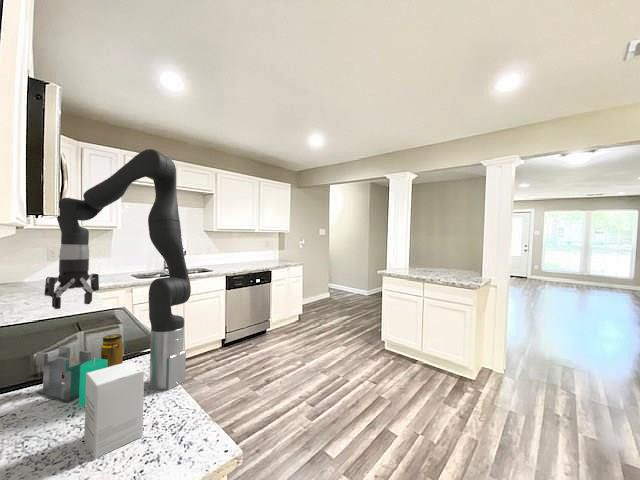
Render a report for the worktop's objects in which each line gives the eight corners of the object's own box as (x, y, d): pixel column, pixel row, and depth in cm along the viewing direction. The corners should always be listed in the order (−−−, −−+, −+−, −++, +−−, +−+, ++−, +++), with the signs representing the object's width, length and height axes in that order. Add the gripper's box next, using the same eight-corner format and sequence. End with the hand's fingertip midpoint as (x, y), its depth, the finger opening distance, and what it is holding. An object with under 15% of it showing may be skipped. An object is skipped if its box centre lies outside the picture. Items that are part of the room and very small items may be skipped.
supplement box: (130, 420, 69) (132, 359, 69) (143, 436, 63) (145, 370, 63) (82, 440, 62) (85, 371, 62) (93, 460, 56) (95, 385, 56)
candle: (90, 408, 74) (92, 362, 74) (72, 405, 75) (74, 360, 75) (112, 396, 79) (113, 354, 80) (95, 393, 81) (96, 352, 81)
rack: (90, 393, 81) (91, 352, 81) (64, 404, 75) (65, 360, 75) (60, 384, 86) (62, 345, 86) (34, 394, 80) (36, 352, 80)
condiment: (94, 373, 93) (95, 337, 94) (119, 363, 101) (120, 330, 102) (108, 377, 91) (109, 340, 91) (133, 367, 99) (134, 333, 99)
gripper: (55, 259, 86) (53, 311, 85) (104, 257, 99) (103, 303, 99) (40, 258, 88) (39, 309, 88) (91, 257, 102) (89, 301, 101)
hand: (72, 306), depth 93 cm, fingers open, 8 cm apart
